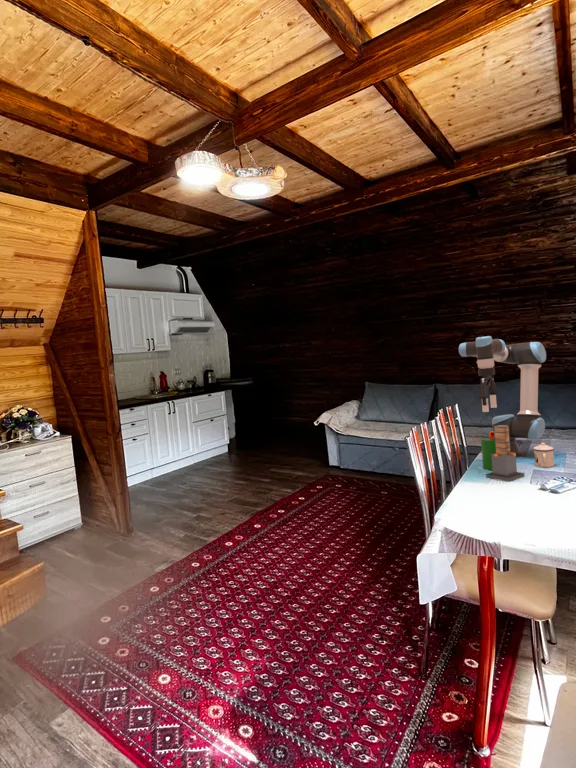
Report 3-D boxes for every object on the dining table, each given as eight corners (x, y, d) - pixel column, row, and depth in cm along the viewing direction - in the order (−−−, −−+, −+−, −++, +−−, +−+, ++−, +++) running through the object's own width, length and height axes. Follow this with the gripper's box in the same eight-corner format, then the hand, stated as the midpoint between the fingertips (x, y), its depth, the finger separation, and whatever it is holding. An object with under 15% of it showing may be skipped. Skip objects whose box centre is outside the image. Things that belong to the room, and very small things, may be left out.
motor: (501, 466, 231) (498, 428, 230) (507, 470, 222) (504, 431, 221) (481, 467, 232) (478, 430, 231) (487, 471, 223) (484, 432, 222)
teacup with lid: (534, 463, 230) (532, 441, 230) (554, 463, 226) (552, 441, 226) (534, 468, 220) (533, 445, 219) (555, 469, 215) (554, 445, 215)
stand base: (501, 472, 219) (499, 448, 219) (524, 476, 209) (522, 451, 208) (486, 477, 213) (484, 452, 212) (509, 481, 203) (507, 455, 202)
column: (503, 471, 214) (499, 425, 213) (512, 472, 210) (508, 425, 209) (497, 472, 212) (493, 426, 211) (506, 474, 208) (502, 427, 207)
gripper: (485, 366, 229) (489, 406, 230) (470, 370, 210) (474, 413, 211) (501, 364, 224) (504, 405, 225) (486, 369, 205) (490, 413, 206)
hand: (489, 409), depth 218 cm, fingers open, 13 cm apart
